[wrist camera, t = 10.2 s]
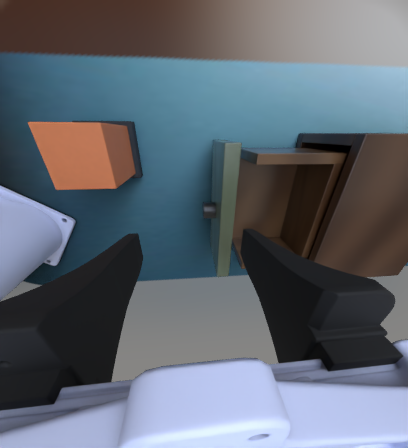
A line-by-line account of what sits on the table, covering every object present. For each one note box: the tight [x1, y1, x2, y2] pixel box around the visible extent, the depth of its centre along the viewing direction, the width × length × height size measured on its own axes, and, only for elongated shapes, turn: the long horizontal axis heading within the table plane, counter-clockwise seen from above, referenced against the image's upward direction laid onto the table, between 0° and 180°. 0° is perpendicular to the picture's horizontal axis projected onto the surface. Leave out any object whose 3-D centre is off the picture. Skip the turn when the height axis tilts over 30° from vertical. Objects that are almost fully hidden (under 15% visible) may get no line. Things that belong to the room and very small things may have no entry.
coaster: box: [72, 121, 143, 178], centre depth 16 cm, size 5×5×1 cm
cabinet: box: [296, 133, 408, 277], centre depth 18 cm, size 11×14×8 cm
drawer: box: [202, 140, 348, 277], centre depth 17 cm, size 11×12×6 cm
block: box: [28, 122, 136, 190], centre depth 14 cm, size 4×4×5 cm
